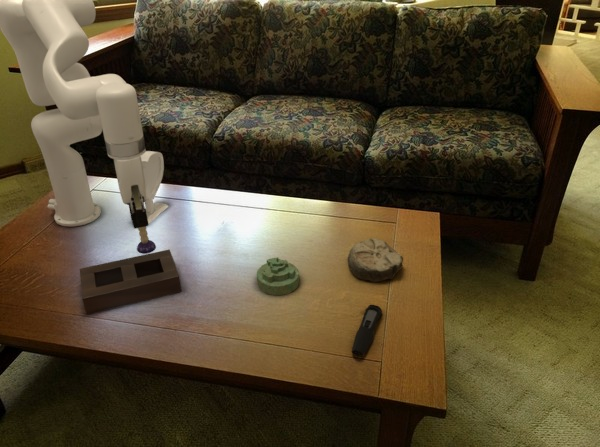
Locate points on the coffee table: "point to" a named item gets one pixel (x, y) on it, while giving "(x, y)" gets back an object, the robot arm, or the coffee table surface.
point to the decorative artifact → (277, 277)
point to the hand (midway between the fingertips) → (139, 222)
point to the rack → (129, 281)
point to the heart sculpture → (153, 182)
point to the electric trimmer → (366, 330)
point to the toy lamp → (144, 240)
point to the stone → (374, 260)
